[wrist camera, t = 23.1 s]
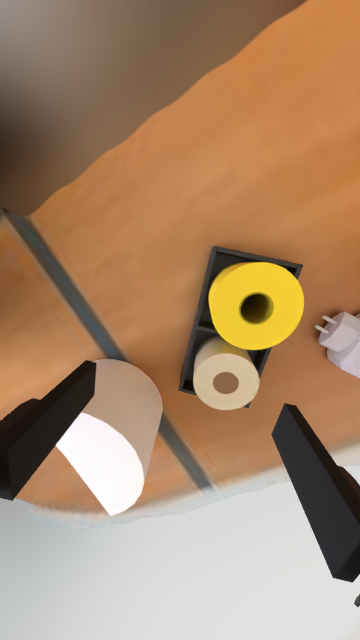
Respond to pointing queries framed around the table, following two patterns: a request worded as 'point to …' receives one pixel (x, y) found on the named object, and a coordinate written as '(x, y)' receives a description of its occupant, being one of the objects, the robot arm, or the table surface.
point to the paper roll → (224, 375)
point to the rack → (203, 318)
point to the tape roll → (255, 304)
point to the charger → (342, 341)
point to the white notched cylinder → (115, 434)
